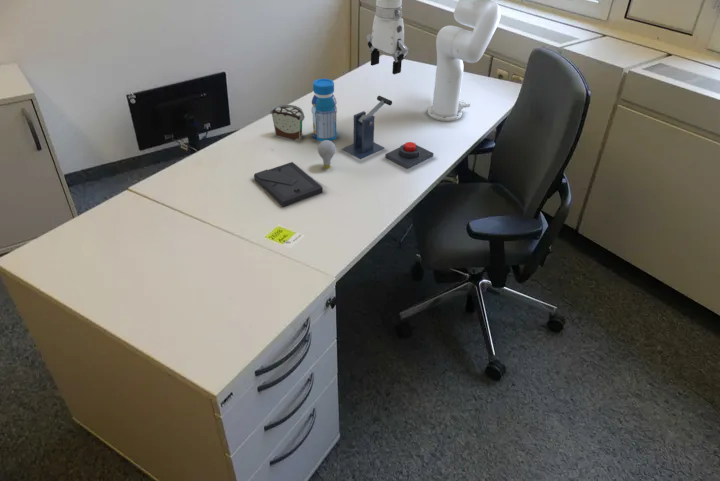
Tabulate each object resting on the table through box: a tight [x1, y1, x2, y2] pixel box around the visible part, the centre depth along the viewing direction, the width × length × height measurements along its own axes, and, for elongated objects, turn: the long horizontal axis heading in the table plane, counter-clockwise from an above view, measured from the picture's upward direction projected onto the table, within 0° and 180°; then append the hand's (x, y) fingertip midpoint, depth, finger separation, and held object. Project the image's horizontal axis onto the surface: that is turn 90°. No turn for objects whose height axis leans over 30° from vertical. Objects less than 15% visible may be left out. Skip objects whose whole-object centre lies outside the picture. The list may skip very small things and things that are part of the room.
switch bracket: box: [341, 110, 385, 160], centre depth 176 cm, size 11×9×13 cm
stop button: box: [404, 141, 417, 152], centre depth 173 cm, size 4×4×2 cm
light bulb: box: [317, 140, 337, 170], centre depth 167 cm, size 5×5×10 cm
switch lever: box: [358, 95, 393, 126], centre depth 174 cm, size 12×6×2 cm, turn 131°
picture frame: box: [253, 161, 324, 208], centre depth 162 cm, size 13×2×18 cm
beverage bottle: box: [311, 78, 338, 142], centre depth 181 cm, size 8×8×20 cm
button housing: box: [384, 143, 434, 170], centre depth 175 cm, size 12×10×4 cm
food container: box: [269, 104, 305, 141], centre depth 185 cm, size 12×6×10 cm, turn 65°
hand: (385, 68), depth 171 cm, fingers open, 9 cm apart
